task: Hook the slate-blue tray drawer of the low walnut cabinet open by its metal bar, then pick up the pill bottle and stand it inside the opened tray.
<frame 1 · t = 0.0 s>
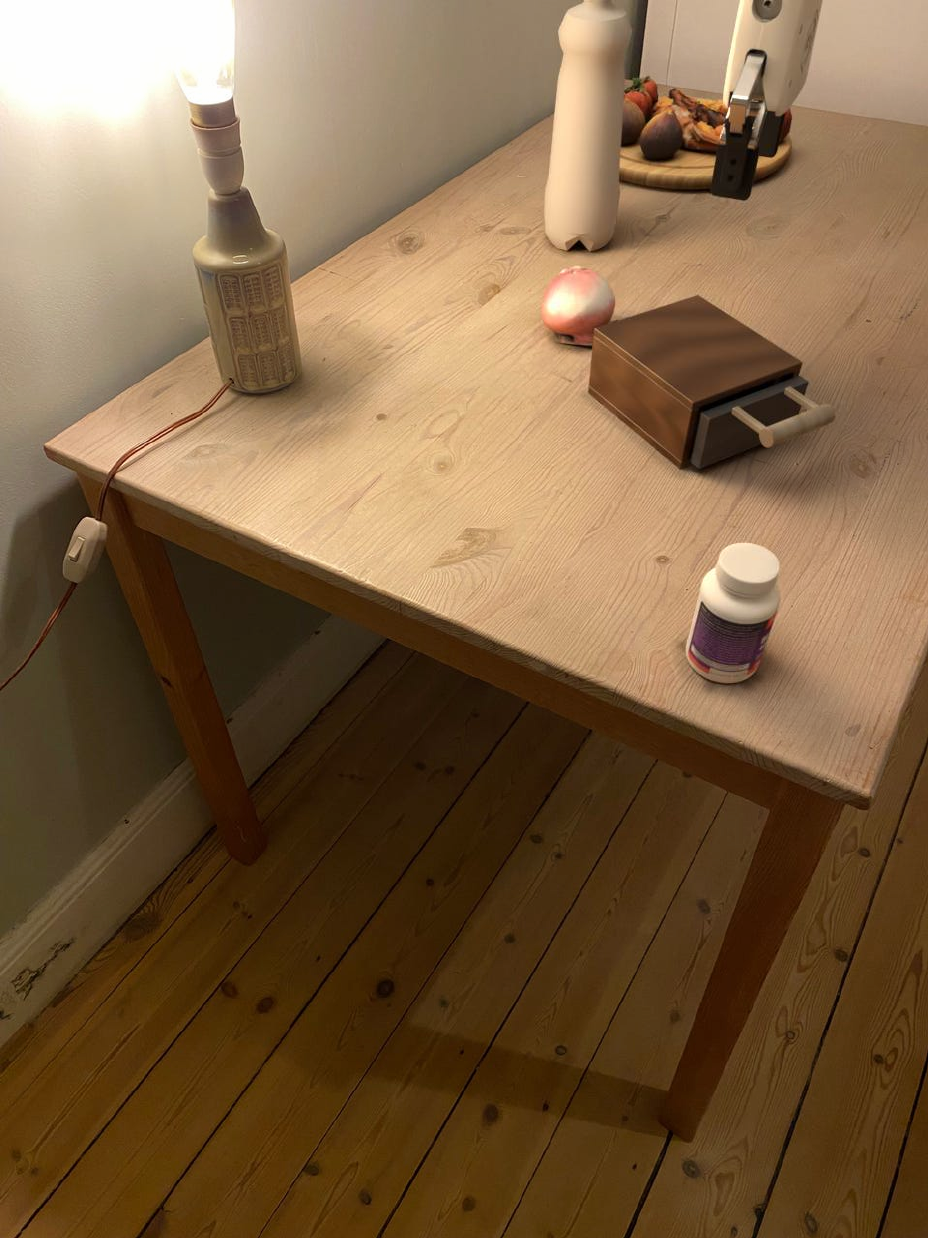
hand: (743, 174, 77), 21 cm above the table, tool pointing down, fingers open, 9 cm apart
bottle: (578, 241, 115), on the table
cabinet: (683, 409, 89), on the table
pill bottle: (720, 659, 68), on the table
drawer: (724, 398, 84), point 4 cm above the table, slide at 0.5 cm
onion: (576, 336, 99), on the table
wooden plate: (677, 151, 135), on the table
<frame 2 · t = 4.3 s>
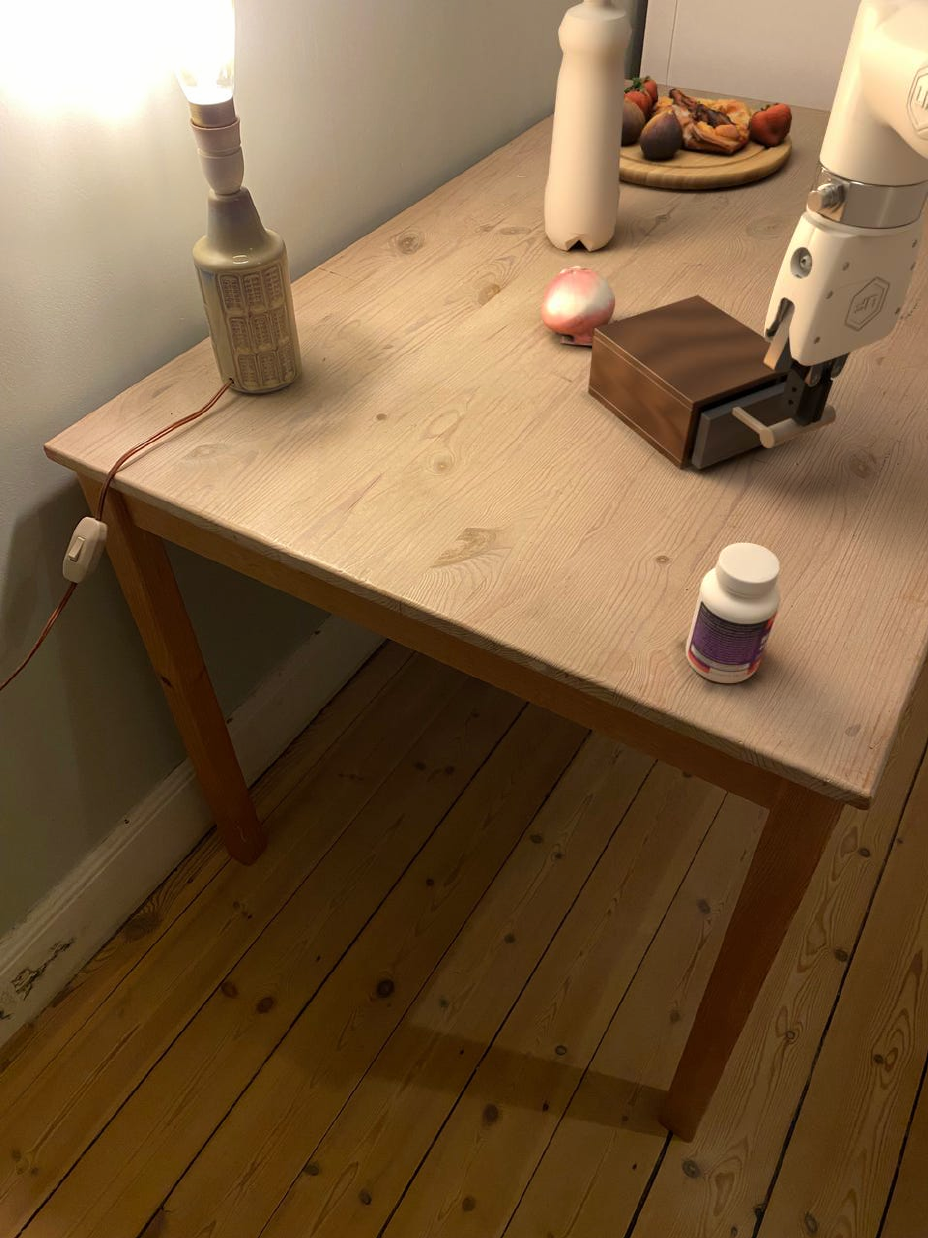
hand: (798, 415, 76), 7 cm above the table, tool pointing down, fingers closed
drawer: (725, 399, 84), point 4 cm above the table, slide at 0.6 cm, touching gripper
everything else where it was.
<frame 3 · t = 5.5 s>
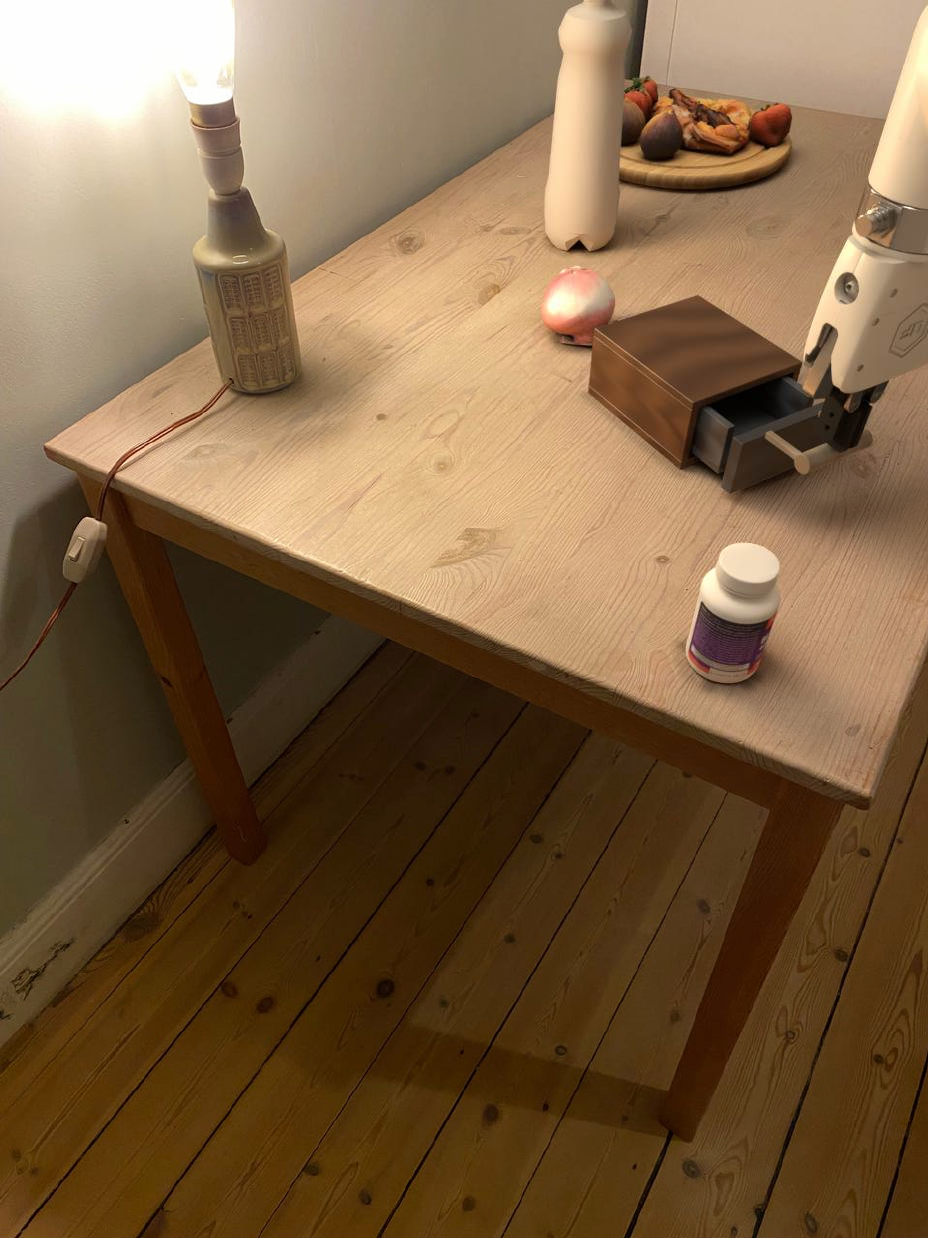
hand: (834, 440, 74), 7 cm above the table, tool pointing down, fingers closed
drawer: (755, 421, 81), point 4 cm above the table, slide at 4.6 cm, touching gripper
everything else where it was.
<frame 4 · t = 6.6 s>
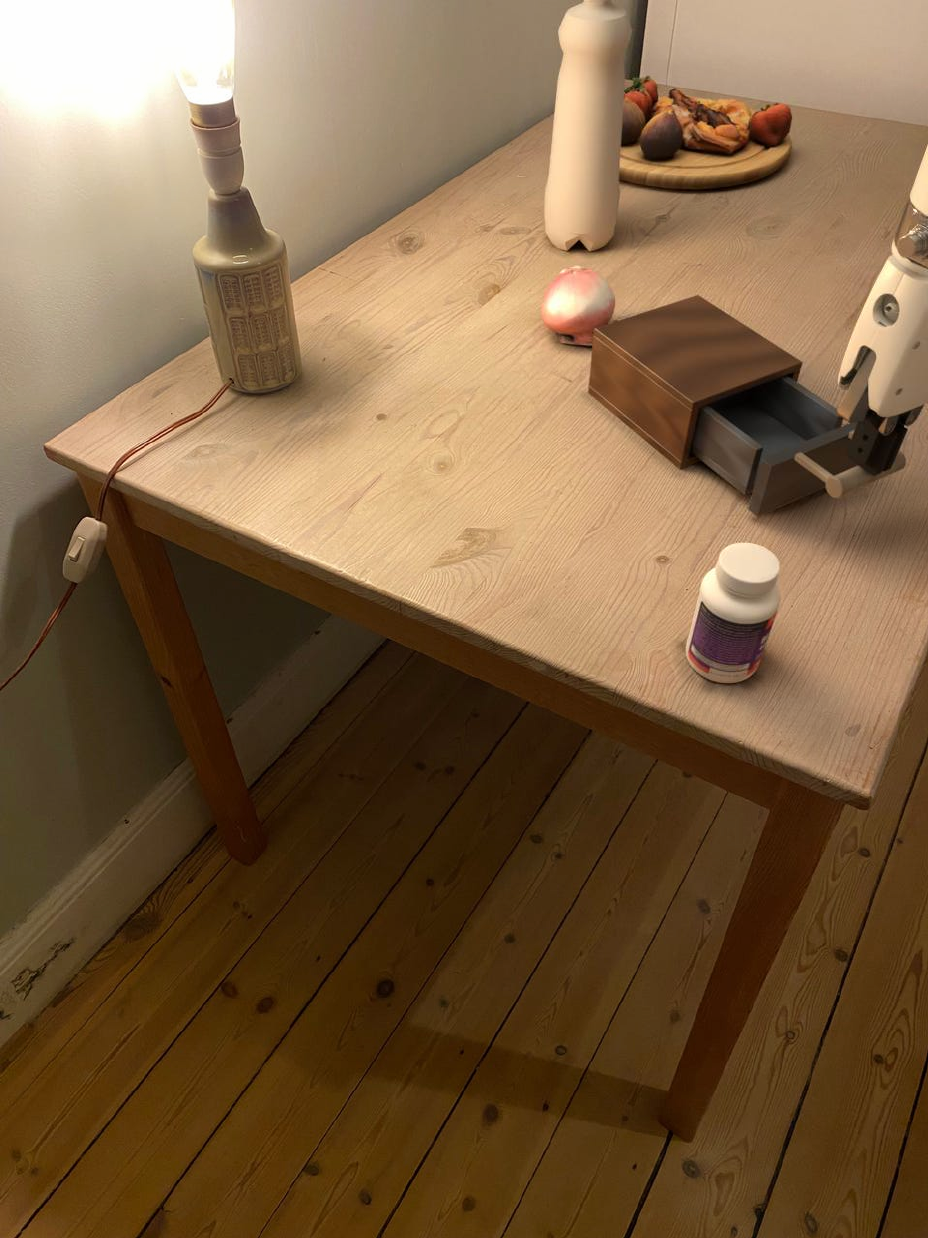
hand: (867, 462, 72), 7 cm above the table, tool pointing down, fingers closed
drawer: (783, 441, 79), point 4 cm above the table, slide at 8.1 cm, touching gripper
everything else where it was.
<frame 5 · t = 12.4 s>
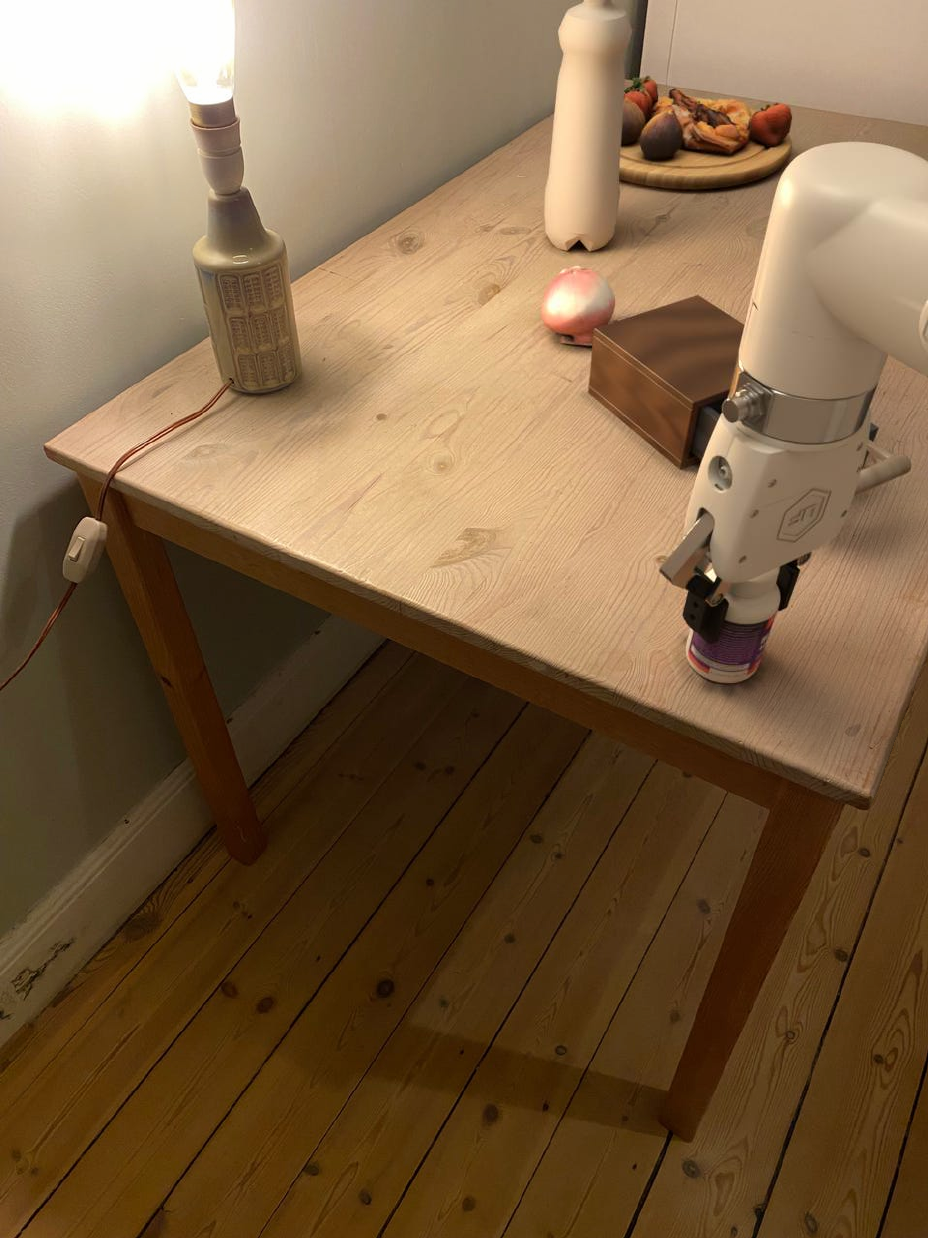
hand: (734, 612, 64), 5 cm above the table, tool pointing down, fingers closed on pill bottle, 5 cm apart
pill bottle: (720, 659, 68), on the table, touching gripper
drawer: (787, 444, 79), point 4 cm above the table, slide at 8.7 cm
everything else where it was.
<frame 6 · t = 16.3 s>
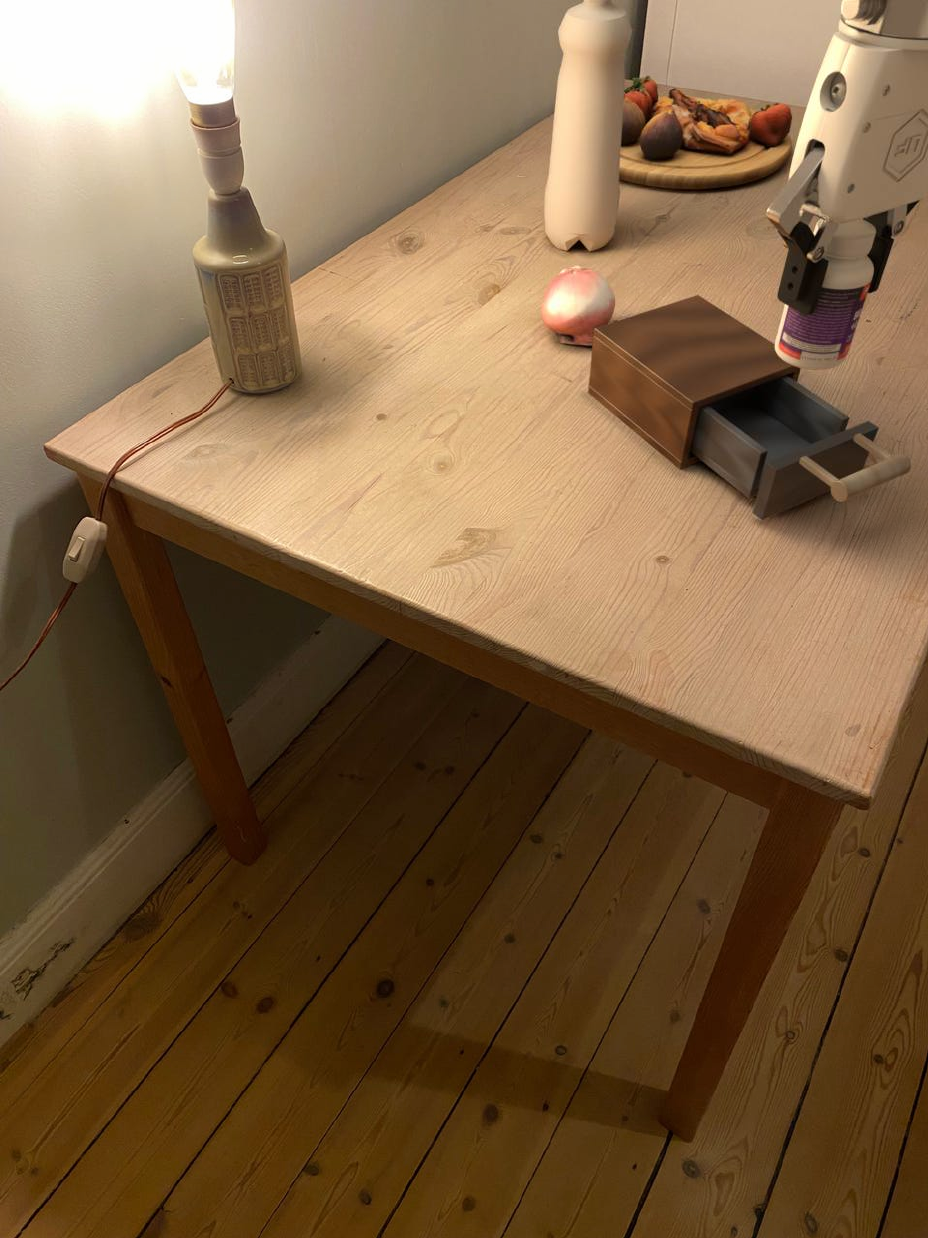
hand: (827, 293, 66), 19 cm above the table, tool pointing down, fingers closed on pill bottle, 5 cm apart
pill bottle: (808, 355, 70), point 14 cm above the table, touching gripper
everything else where it was.
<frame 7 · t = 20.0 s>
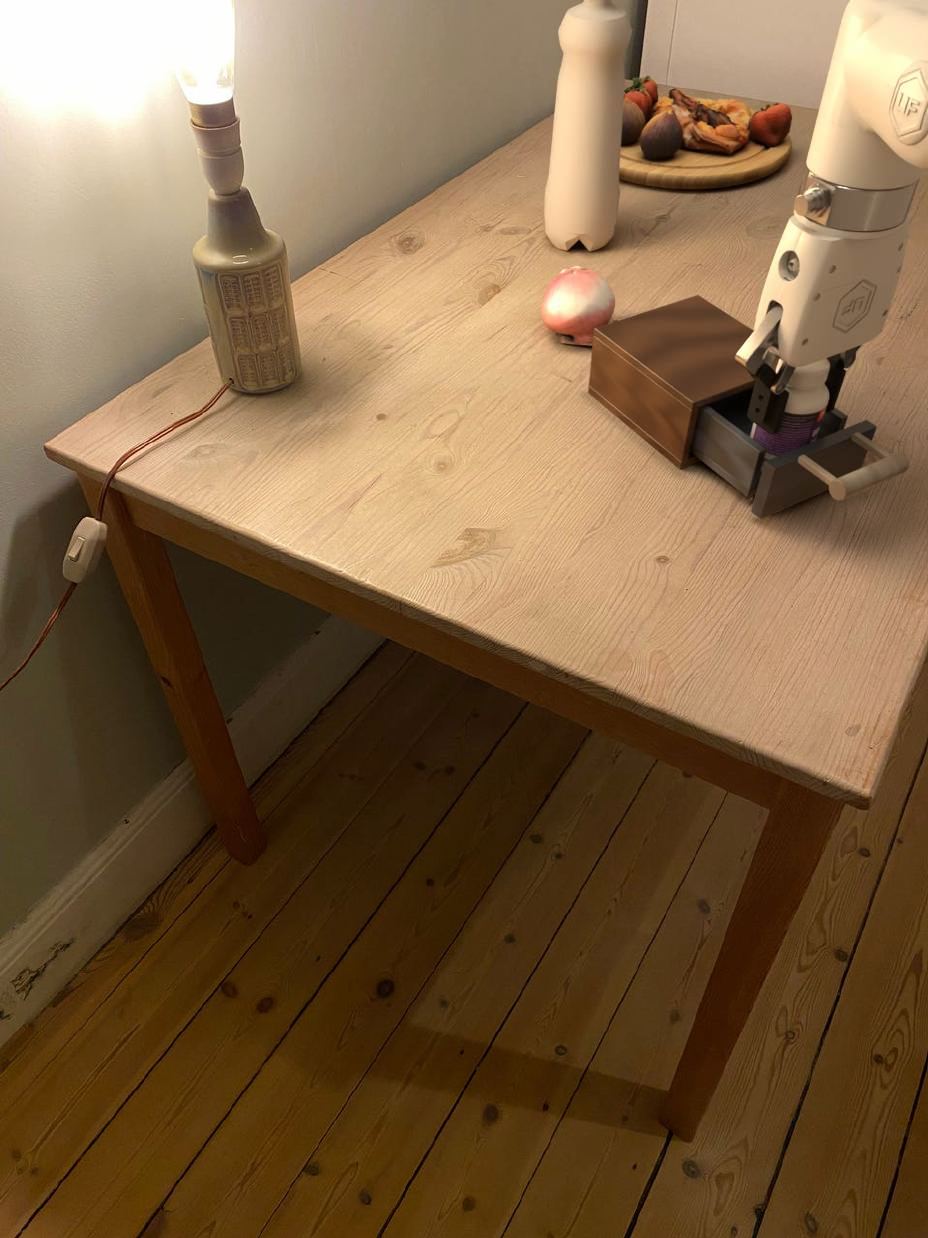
hand: (790, 412, 77), 7 cm above the table, tool pointing down, fingers closed on pill bottle, 5 cm apart
pill bottle: (775, 461, 81), point 2 cm above the table, touching drawer, gripper
drawer: (786, 443, 79), point 4 cm above the table, slide at 8.5 cm, touching pill bottle
everything else where it was.
when the fingers open (7 cm above the table, at t = 20.2 s): pill bottle stays where it is, resting on drawer.
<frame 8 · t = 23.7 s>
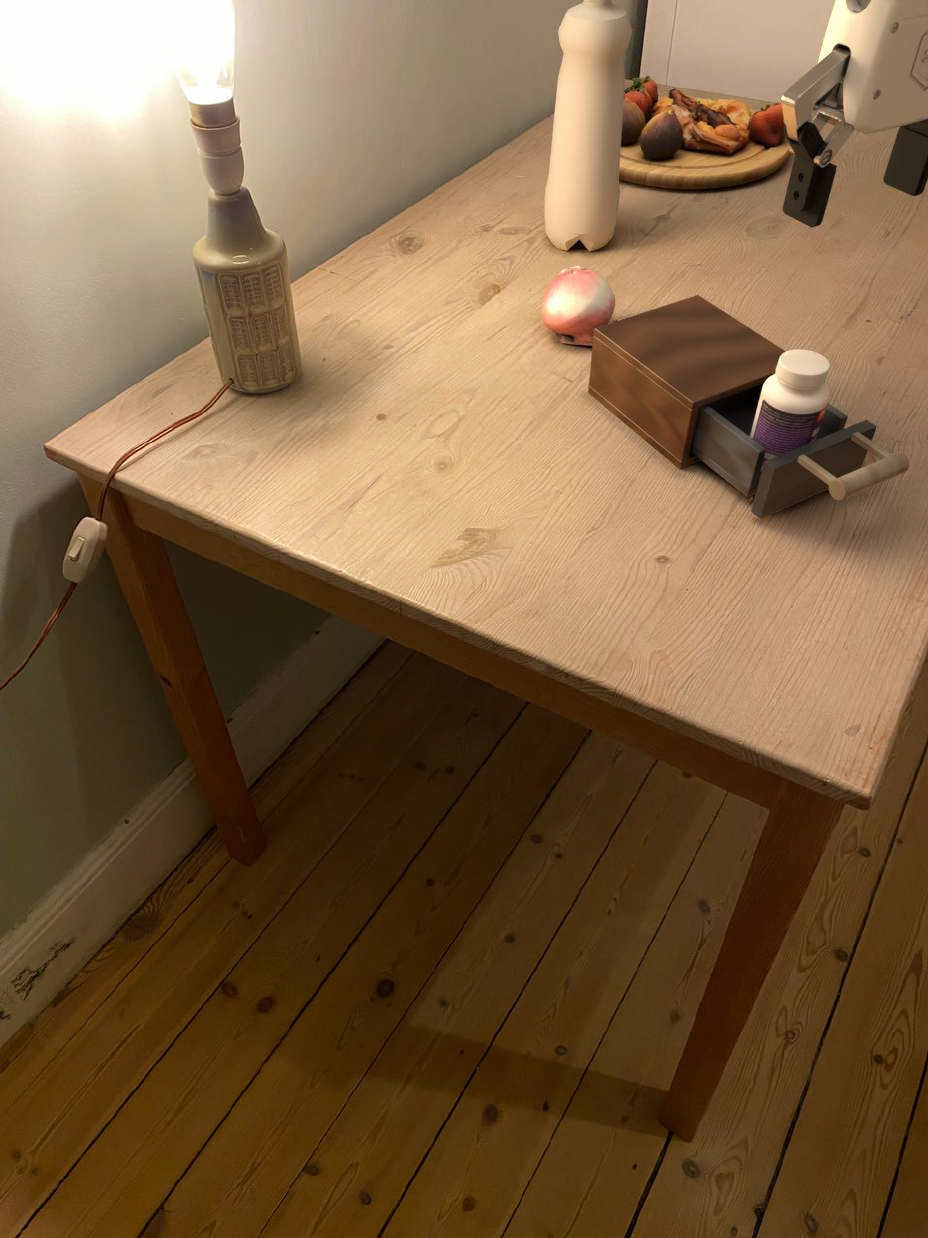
hand: (852, 203, 64), 24 cm above the table, tool pointing down, fingers open, 9 cm apart
pill bottle: (775, 460, 81), point 2 cm above the table, touching drawer
everything else where it was.
at the end: drawer slide at 8.5 cm; pill bottle 0.2 cm from the target spot in the drawer, point 1.8 cm above the cabinet's base; pill bottle tilted 0° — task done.
